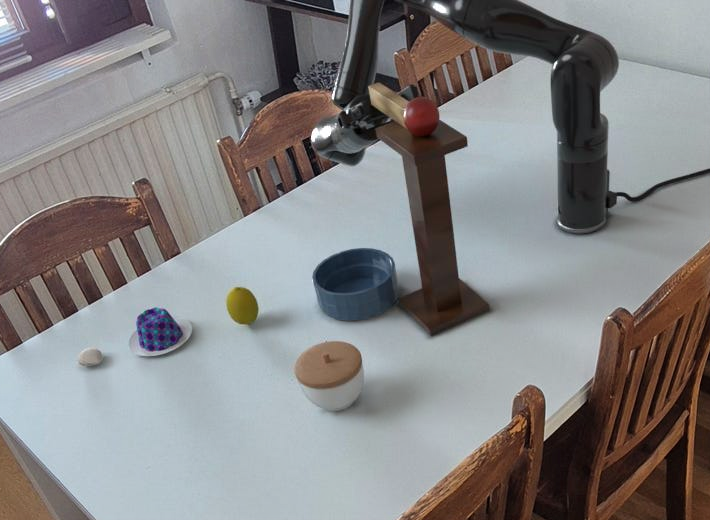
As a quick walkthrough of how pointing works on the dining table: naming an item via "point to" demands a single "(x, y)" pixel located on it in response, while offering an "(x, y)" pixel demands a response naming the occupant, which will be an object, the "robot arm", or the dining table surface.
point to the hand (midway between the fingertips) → (390, 99)
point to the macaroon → (90, 357)
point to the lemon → (242, 305)
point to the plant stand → (433, 228)
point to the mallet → (406, 110)
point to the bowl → (356, 283)
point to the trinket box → (330, 374)
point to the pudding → (158, 333)
